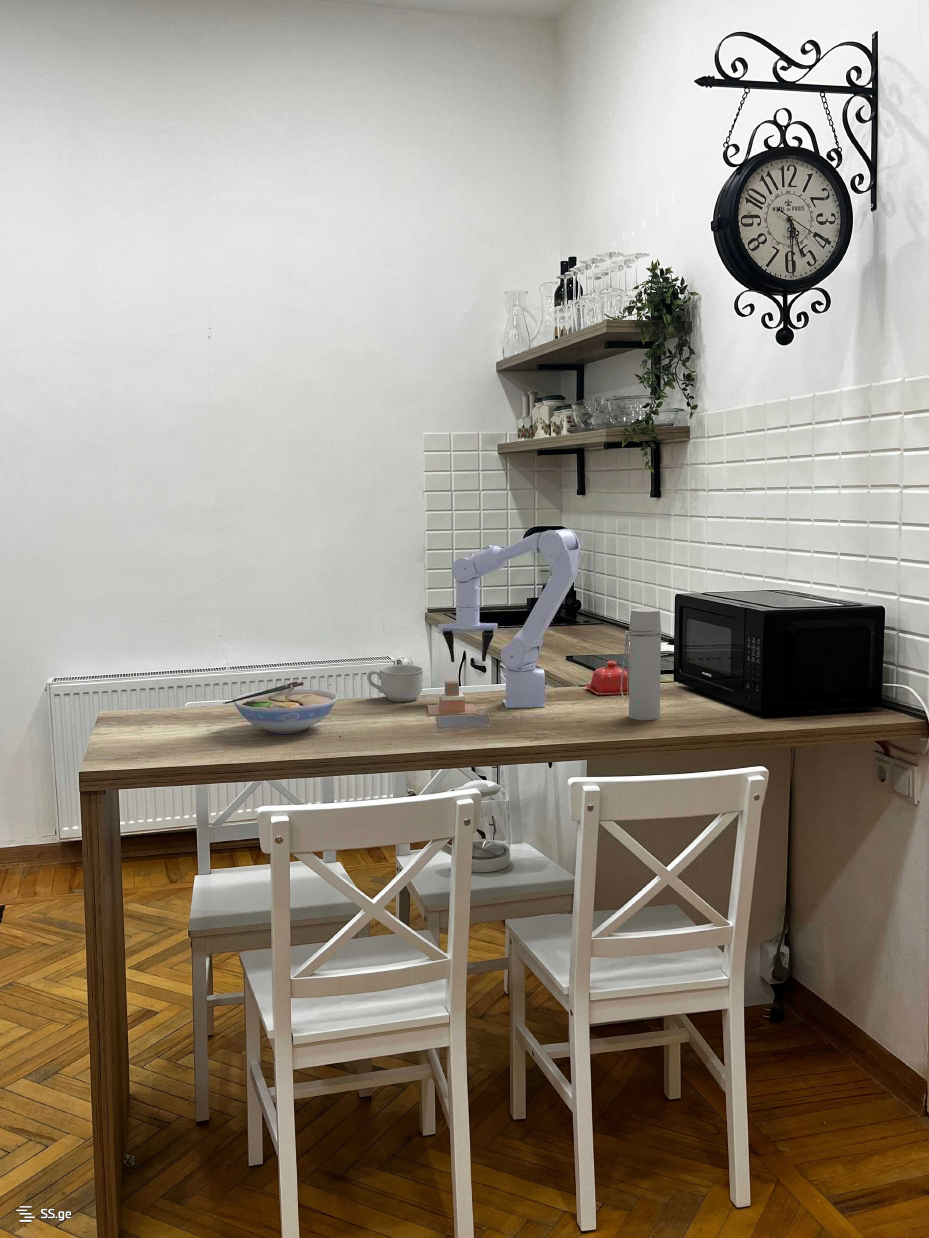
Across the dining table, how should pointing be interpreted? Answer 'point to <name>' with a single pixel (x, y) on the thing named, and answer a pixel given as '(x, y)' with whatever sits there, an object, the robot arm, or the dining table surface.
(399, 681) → the teacup
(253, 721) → the ramen bowl
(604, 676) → the butter dish
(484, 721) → the mat
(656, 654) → the water bottle
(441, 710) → the salmon stepped square block
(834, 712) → the dining table surface
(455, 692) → the lid
